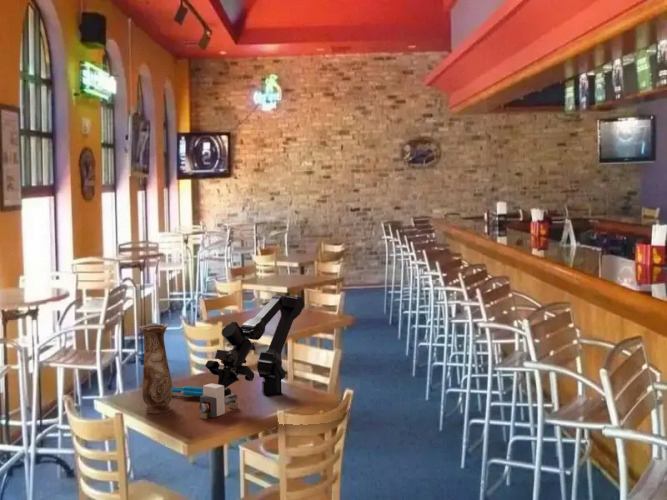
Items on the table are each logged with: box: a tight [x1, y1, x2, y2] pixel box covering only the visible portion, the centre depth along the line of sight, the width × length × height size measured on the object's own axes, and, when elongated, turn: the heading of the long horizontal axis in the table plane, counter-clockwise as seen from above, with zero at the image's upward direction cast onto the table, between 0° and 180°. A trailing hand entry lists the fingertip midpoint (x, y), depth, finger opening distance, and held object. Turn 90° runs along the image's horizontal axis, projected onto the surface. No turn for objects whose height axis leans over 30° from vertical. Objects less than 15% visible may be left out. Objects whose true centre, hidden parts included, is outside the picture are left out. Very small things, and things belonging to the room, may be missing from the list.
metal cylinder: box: [198, 393, 239, 420], centre depth 277 cm, size 16×3×5 cm, turn 145°
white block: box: [202, 383, 226, 417], centre depth 275 cm, size 4×6×10 cm, turn 55°
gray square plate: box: [199, 396, 218, 418], centre depth 273 cm, size 2×6×6 cm, turn 55°
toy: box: [172, 385, 232, 398], centre depth 297 cm, size 8×6×30 cm
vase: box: [138, 322, 173, 414], centre depth 280 cm, size 10×11×30 cm
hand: (218, 391), depth 277 cm, fingers closed, pressing on white block
